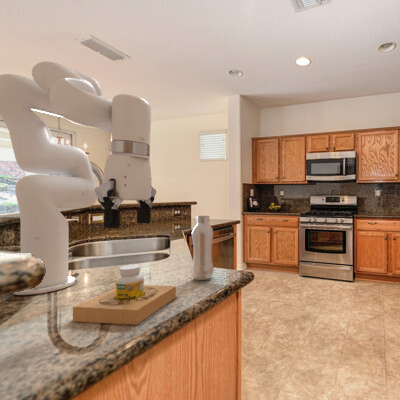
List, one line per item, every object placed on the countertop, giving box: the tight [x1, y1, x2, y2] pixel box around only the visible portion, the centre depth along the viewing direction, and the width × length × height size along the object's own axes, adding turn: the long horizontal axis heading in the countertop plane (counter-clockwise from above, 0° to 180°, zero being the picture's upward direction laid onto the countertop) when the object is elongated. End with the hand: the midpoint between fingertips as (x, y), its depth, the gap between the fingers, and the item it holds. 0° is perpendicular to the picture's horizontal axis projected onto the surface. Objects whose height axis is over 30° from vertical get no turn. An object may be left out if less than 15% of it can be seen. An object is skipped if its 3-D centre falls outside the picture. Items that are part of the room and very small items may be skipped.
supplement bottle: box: [115, 264, 145, 301], centre depth 59 cm, size 5×5×10 cm
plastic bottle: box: [191, 215, 215, 281], centre depth 80 cm, size 6×7×20 cm
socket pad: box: [72, 284, 177, 326], centre depth 59 cm, size 14×14×3 cm
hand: (129, 225), depth 59 cm, fingers open, 9 cm apart
